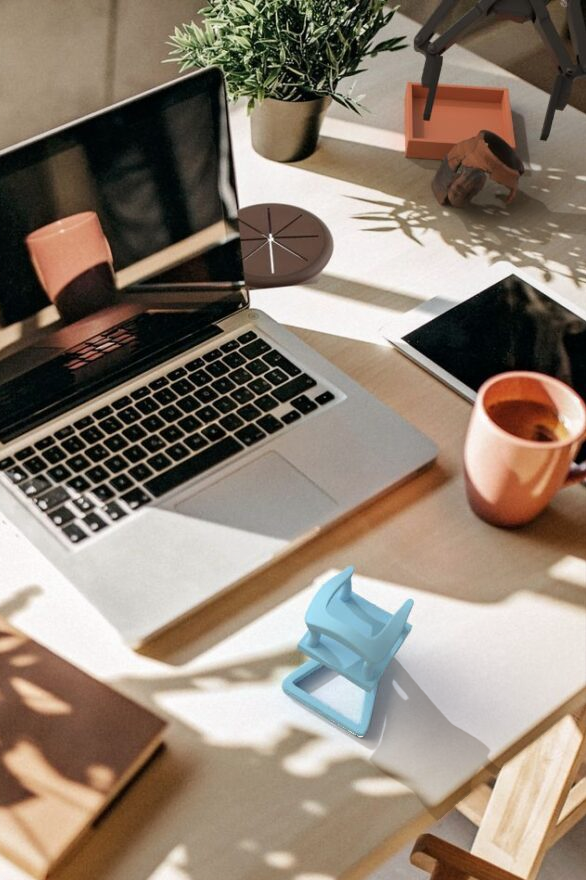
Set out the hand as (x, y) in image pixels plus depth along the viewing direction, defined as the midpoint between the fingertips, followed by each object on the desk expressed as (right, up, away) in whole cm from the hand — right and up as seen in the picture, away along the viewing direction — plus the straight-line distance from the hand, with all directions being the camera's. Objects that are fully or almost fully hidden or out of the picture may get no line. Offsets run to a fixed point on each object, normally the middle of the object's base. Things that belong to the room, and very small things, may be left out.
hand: (484, 128), depth 112 cm
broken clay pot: (-1, -7, +5) cm, 8 cm away
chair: (-19, -58, -32) cm, 69 cm away
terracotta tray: (0, +5, +13) cm, 14 cm away
